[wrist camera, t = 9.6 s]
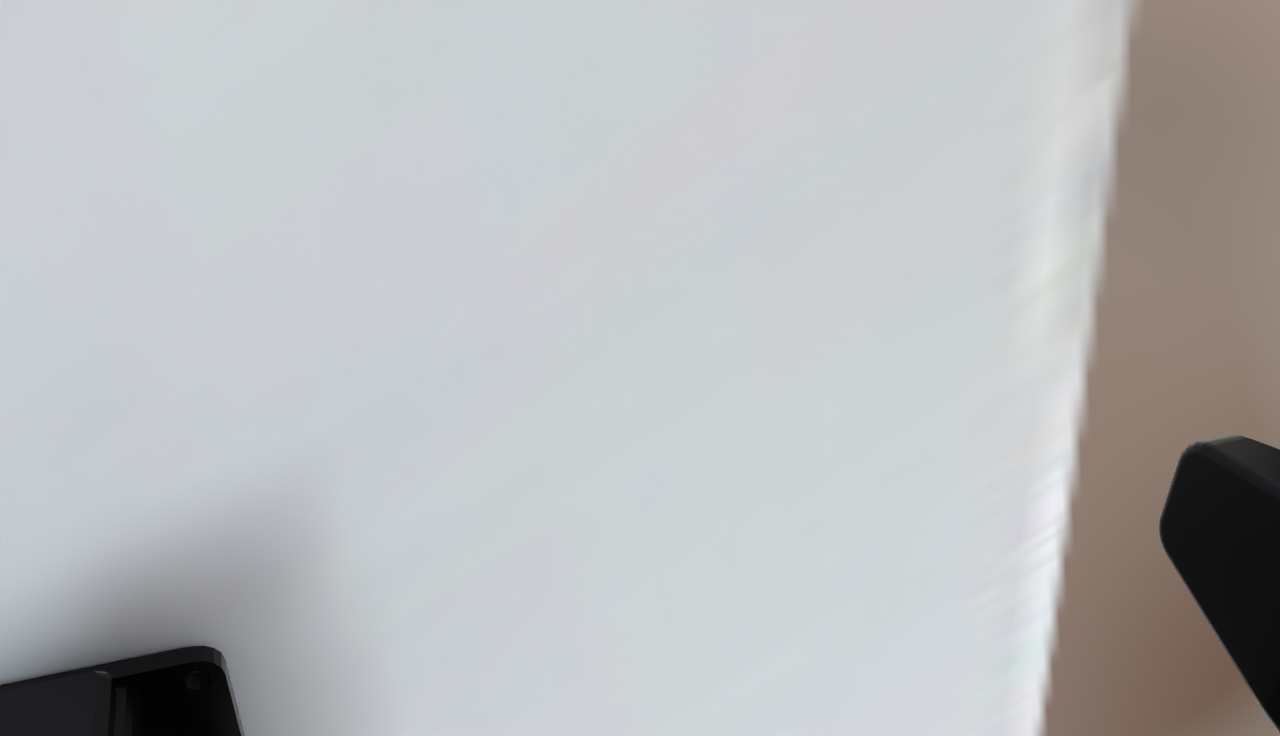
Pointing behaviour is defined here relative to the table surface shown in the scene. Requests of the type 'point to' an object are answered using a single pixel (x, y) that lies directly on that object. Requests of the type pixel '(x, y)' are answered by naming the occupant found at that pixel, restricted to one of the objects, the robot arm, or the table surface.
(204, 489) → the table surface
